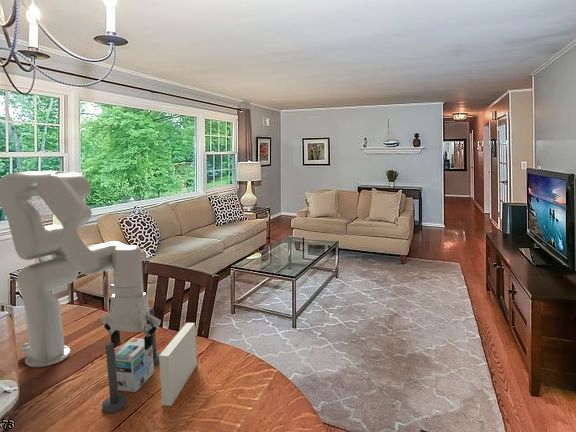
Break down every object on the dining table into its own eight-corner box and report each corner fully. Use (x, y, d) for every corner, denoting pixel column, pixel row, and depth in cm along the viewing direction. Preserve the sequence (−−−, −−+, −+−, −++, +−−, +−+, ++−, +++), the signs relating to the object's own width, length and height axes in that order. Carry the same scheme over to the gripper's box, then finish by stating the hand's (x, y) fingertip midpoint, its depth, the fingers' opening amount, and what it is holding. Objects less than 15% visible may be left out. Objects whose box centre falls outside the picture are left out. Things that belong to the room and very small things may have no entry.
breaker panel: (157, 404, 104) (154, 355, 102) (185, 364, 124) (183, 322, 122) (171, 405, 104) (168, 356, 102) (196, 365, 123) (194, 322, 121)
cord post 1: (97, 412, 101) (91, 349, 99) (110, 398, 107) (105, 338, 104) (119, 414, 101) (114, 350, 98) (131, 399, 107) (126, 339, 104)
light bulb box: (135, 393, 110) (133, 356, 108) (113, 390, 111) (110, 354, 109) (155, 372, 120) (152, 338, 118) (134, 370, 121) (132, 337, 119)
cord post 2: (140, 365, 124) (136, 312, 121) (148, 355, 130) (145, 305, 127) (158, 366, 123) (155, 313, 121) (166, 356, 129) (163, 306, 126)
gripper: (91, 292, 108) (96, 351, 111) (152, 296, 106) (155, 355, 109) (107, 283, 115) (110, 338, 118) (164, 286, 114) (166, 342, 116)
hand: (132, 346), depth 114 cm, fingers open, 9 cm apart
